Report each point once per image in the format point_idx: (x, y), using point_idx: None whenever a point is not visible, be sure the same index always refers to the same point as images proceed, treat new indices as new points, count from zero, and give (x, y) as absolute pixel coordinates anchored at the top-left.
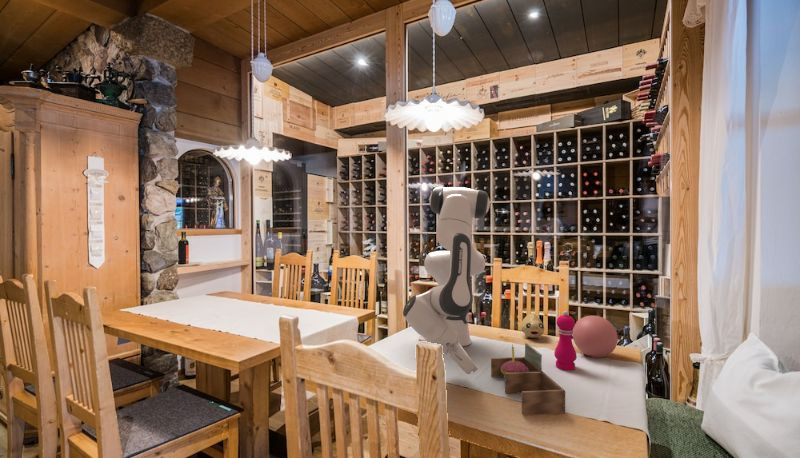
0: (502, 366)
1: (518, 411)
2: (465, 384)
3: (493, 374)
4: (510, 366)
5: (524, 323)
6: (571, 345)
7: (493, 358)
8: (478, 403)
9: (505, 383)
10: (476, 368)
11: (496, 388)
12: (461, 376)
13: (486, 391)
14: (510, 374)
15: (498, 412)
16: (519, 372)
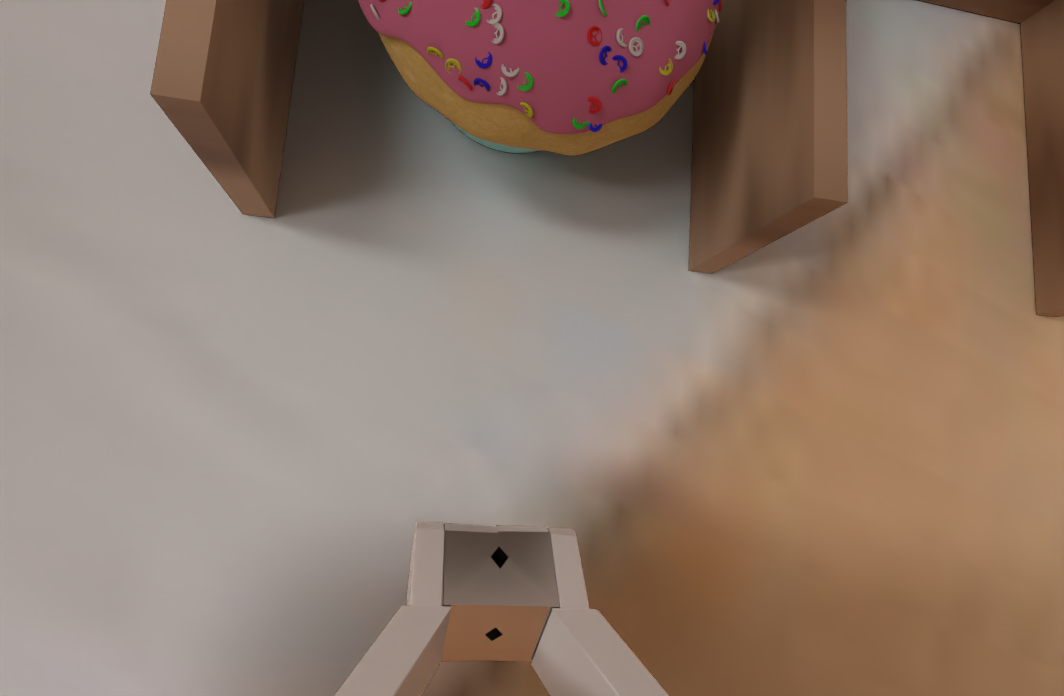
0: (527, 91)
1: (1006, 321)
2: None
3: (271, 187)
4: (640, 6)
5: None
6: None
7: (187, 65)
8: (866, 611)
9: (764, 243)
10: (572, 546)
11: (585, 305)
12: (163, 600)
13: (638, 437)
14: (842, 143)
15: (1016, 489)
16: (818, 4)
